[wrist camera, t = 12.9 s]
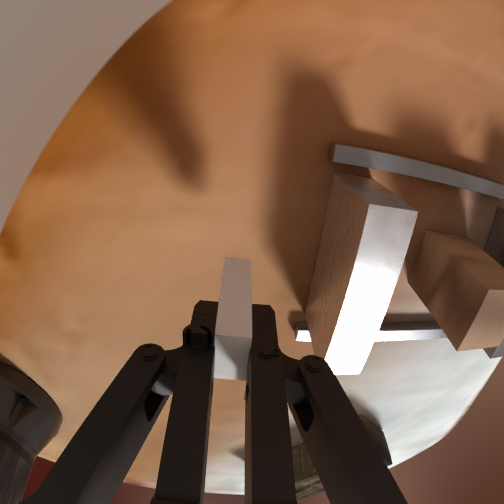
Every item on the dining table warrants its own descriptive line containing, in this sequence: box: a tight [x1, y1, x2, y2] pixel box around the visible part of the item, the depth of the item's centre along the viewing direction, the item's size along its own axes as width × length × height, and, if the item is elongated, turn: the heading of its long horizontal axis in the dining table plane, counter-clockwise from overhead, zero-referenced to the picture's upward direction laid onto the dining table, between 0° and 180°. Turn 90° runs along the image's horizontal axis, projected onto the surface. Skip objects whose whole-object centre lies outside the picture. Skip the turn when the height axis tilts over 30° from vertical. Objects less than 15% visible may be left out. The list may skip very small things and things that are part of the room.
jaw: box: [304, 172, 418, 375], centre depth 21 cm, size 3×12×7 cm, turn 174°
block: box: [408, 230, 504, 351], centre depth 21 cm, size 5×5×9 cm
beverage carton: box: [292, 415, 392, 500], centre depth 36 cm, size 8×19×7 cm, turn 132°
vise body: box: [294, 142, 504, 359], centre depth 21 cm, size 20×16×7 cm
